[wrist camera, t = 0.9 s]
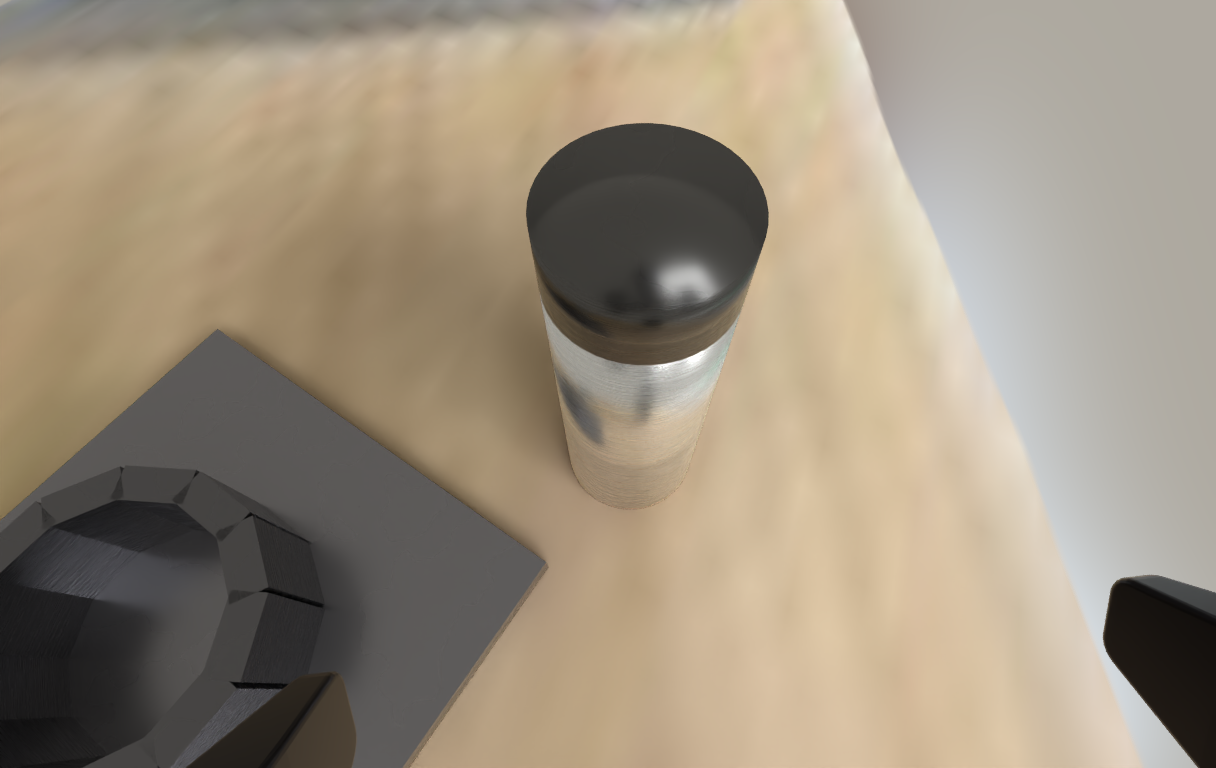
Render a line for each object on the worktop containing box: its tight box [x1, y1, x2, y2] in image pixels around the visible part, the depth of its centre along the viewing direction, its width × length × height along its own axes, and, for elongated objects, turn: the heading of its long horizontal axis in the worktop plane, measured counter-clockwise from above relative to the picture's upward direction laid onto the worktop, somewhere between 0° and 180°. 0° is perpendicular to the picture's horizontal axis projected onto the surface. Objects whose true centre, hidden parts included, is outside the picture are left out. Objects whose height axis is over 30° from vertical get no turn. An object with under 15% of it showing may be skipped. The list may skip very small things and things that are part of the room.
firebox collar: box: [0, 329, 548, 768], centre depth 17 cm, size 16×16×4 cm
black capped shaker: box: [526, 123, 769, 509], centre depth 17 cm, size 4×4×12 cm
